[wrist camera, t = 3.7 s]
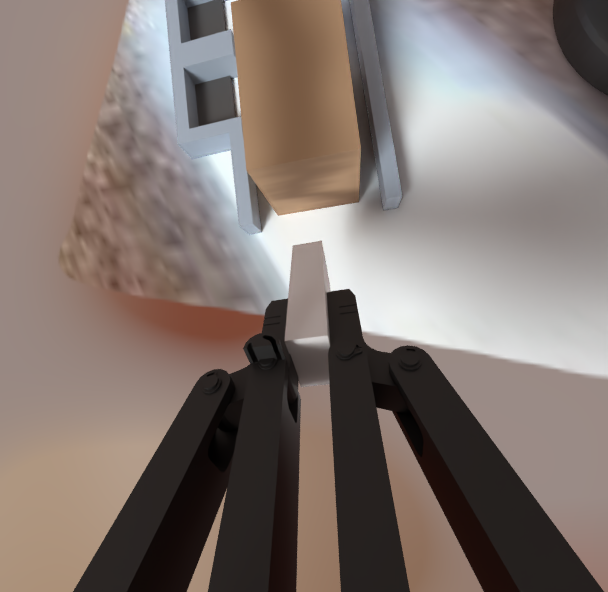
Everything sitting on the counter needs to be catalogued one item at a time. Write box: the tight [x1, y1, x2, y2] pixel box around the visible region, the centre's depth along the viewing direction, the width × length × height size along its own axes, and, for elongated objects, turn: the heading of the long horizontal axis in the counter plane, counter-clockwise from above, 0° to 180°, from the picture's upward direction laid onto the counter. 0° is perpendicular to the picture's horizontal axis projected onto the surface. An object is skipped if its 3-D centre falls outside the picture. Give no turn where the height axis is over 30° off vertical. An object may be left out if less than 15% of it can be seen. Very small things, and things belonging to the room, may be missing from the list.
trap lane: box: [165, 0, 402, 234], centre depth 23 cm, size 15×30×3 cm, turn 8°
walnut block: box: [231, 0, 361, 216], centre depth 20 cm, size 6×10×7 cm, turn 7°
